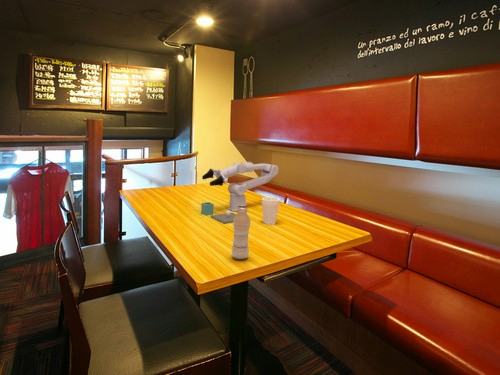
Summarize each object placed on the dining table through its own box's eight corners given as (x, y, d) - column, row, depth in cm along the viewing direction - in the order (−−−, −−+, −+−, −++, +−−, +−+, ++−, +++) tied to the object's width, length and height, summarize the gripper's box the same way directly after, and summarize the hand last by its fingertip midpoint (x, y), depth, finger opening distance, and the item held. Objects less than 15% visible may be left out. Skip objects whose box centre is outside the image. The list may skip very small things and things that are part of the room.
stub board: (231, 214, 183) (232, 206, 182) (246, 220, 172) (246, 212, 171) (210, 217, 174) (210, 209, 173) (224, 223, 163) (224, 215, 162)
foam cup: (280, 222, 171) (281, 198, 169) (275, 226, 163) (277, 201, 160) (263, 219, 174) (264, 196, 172) (258, 224, 166) (259, 199, 163)
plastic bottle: (238, 253, 126) (240, 203, 122) (252, 257, 122) (254, 207, 118) (227, 258, 121) (229, 206, 117) (242, 263, 117) (244, 210, 113)
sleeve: (208, 212, 184) (209, 202, 183) (213, 214, 180) (213, 203, 179) (201, 213, 181) (201, 203, 180) (205, 215, 178) (205, 204, 176)
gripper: (218, 161, 187) (199, 169, 180) (233, 173, 178) (213, 181, 171) (219, 171, 191) (199, 179, 184) (233, 183, 182) (213, 191, 175)
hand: (206, 180), depth 178 cm, fingers open, 7 cm apart
